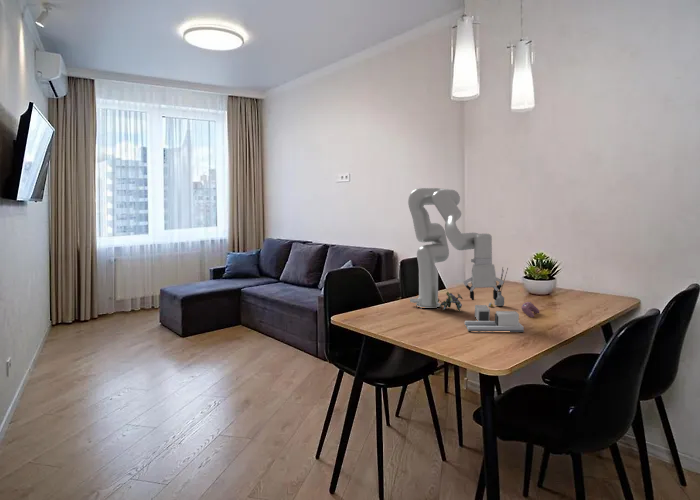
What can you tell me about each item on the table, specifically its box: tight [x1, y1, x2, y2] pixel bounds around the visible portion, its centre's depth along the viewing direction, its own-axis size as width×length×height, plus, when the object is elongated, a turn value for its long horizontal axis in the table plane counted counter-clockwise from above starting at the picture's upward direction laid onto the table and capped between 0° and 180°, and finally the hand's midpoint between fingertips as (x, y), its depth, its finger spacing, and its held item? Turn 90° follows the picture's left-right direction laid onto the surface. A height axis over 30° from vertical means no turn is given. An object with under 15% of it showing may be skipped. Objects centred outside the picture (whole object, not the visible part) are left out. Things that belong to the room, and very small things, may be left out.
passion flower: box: [438, 291, 464, 312], centre depth 218 cm, size 11×11×12 cm
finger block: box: [474, 304, 491, 321], centre depth 200 cm, size 8×5×6 cm, turn 174°
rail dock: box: [464, 310, 525, 332], centre depth 186 cm, size 22×10×7 cm, turn 84°
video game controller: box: [521, 301, 540, 318], centre depth 208 cm, size 10×5×7 cm, turn 141°
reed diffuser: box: [487, 267, 509, 308], centre depth 223 cm, size 10×7×20 cm
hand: (483, 299), depth 199 cm, fingers open, 9 cm apart
